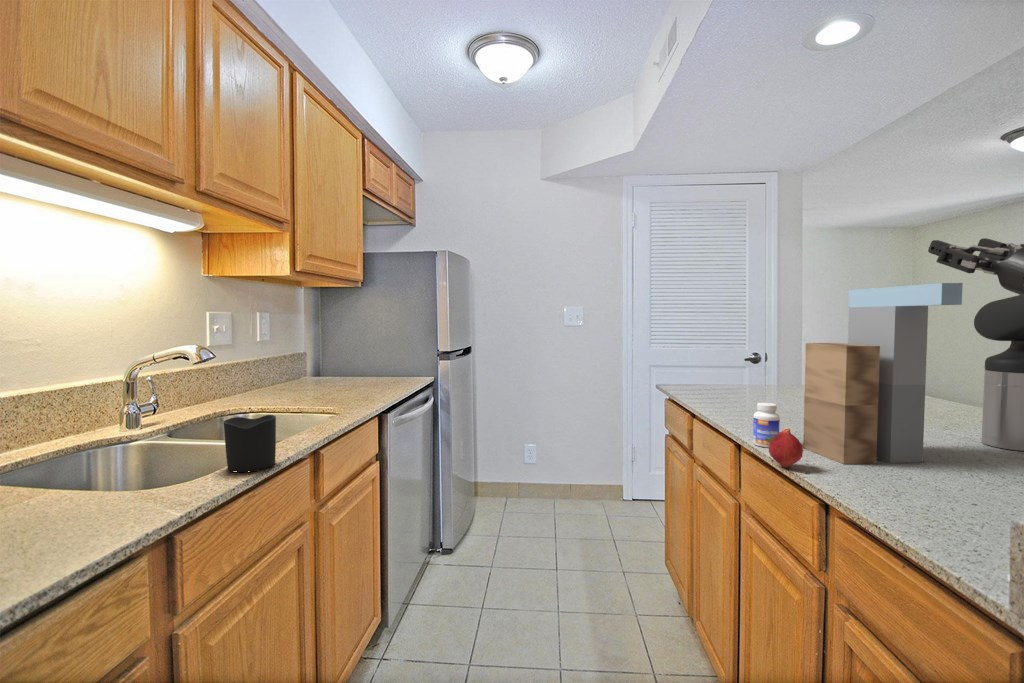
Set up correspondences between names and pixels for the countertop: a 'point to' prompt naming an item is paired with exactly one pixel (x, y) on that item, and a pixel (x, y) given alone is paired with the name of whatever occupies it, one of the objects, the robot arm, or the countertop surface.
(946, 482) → the countertop surface
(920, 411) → the block
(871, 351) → the block
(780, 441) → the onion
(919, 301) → the beam
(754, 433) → the pill bottle
